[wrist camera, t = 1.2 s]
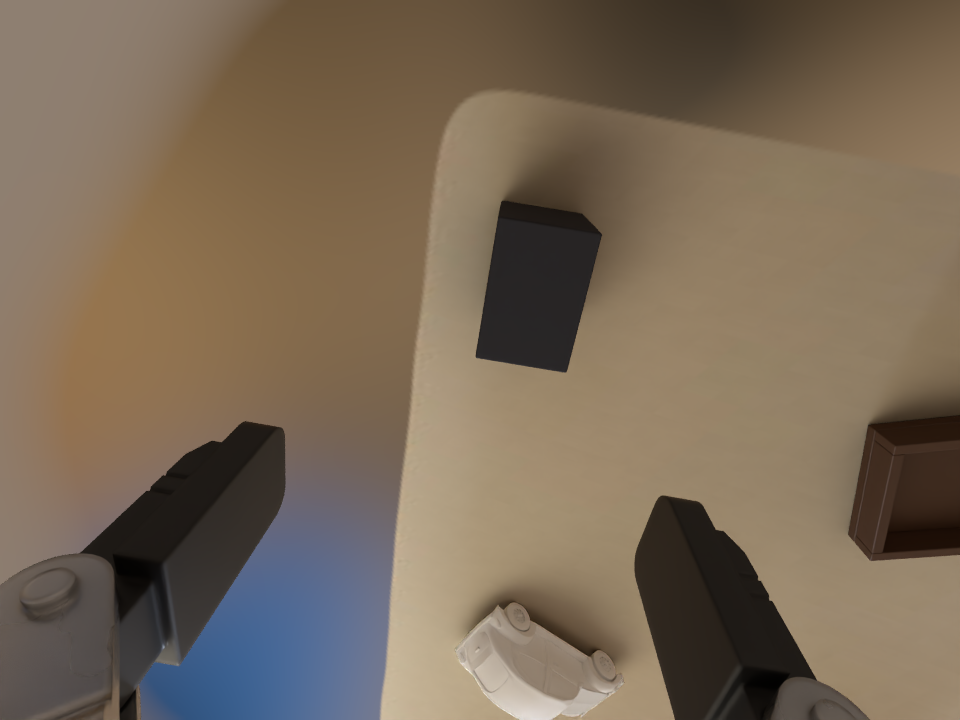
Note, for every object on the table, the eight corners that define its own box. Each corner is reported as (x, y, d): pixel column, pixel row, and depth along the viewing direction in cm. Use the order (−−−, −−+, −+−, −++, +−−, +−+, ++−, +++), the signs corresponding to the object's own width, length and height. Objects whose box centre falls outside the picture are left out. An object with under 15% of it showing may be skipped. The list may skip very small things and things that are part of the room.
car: (451, 636, 36) (442, 701, 32) (496, 589, 34) (493, 653, 30) (577, 697, 38) (585, 766, 34) (628, 657, 36) (643, 726, 32)
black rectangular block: (482, 316, 25) (475, 358, 20) (501, 200, 23) (498, 215, 18) (556, 328, 25) (566, 373, 20) (583, 213, 23) (602, 233, 18)
